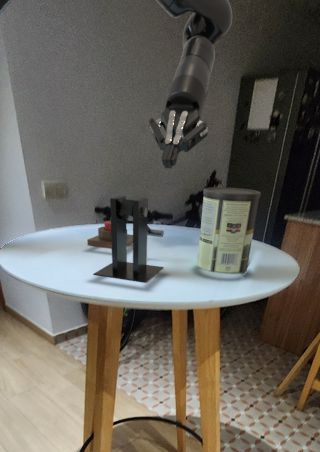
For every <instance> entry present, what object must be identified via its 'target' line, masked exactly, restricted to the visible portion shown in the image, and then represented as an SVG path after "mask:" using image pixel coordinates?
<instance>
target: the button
mask: <svg viewBox="0 0 320 452" xmlns="http://www.w3.org/2000/svg"><path fill="white" fill-rule="evenodd" d="M104 226H105V230H108V231H111V220H106V221H104Z"/></svg>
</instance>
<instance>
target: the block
mask: <svg viewBox="0 0 320 452" xmlns="http://www.w3.org/2000/svg"><path fill="white" fill-rule="evenodd" d="M126 238H127V247H128V246H130V245H133V234H129V233H128V229H127V228H126ZM86 243H87V246H89V247H96V248H104V249H110V250H112V239H111V231H108V230H105V225H104V226H100V227H98V228H97V235H95V236H92V237H90V238H88V239H87V240H86Z"/></svg>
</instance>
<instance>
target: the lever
mask: <svg viewBox="0 0 320 452" xmlns="http://www.w3.org/2000/svg"><path fill="white" fill-rule="evenodd" d="M133 200H134V199H128V198H126V199H122V201H121V207H120V215H121V216H122V217H123V218H124V219H125V220H126V221H129V222H133ZM164 232H165V231H164V230H162V229H152V228H151V227H150V226H149V225H148V224H147V237H156V238H164V234H165V233H164Z"/></svg>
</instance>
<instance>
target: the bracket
mask: <svg viewBox="0 0 320 452" xmlns="http://www.w3.org/2000/svg"><path fill="white" fill-rule="evenodd" d="M109 199H110V200H109V202H110V203H109V204H110V205H109V206H110V221H111V239H112V249H111V263H109V264H107V265H106V266H104V267H102V268H101V269H99V270H96V272H94V273H92V275H93V276H97V277H98V276H99V277H103V278H110V279H116V280H123V281H130V282H137V283H141V284H142V283H143V284H147V283H148V282H149V281H150V280H151V279H152V278H154V277H155V276H157V274H159V273H160V272H161V271H162V270H163V269H164V266H158V265H152V264H148V263H147V262H148V261H147V260H148V236H147V225H148V218H149V217H148V216H149V215H148V213H149V211H148V210H149V198H148V197H140V198H137V199H132V200H133V221H132V235H133V243H132V262H131V261H128V257H127V256H128V255H127V254H128V253H127V251H128V250H127V247H128V246H127V238H126V229H127V220H125V219H124V218H123V217H122V216H121V215H120V207H121V201H122V199H127V196H126V195H118V196H113V197H110V198H109Z"/></svg>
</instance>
